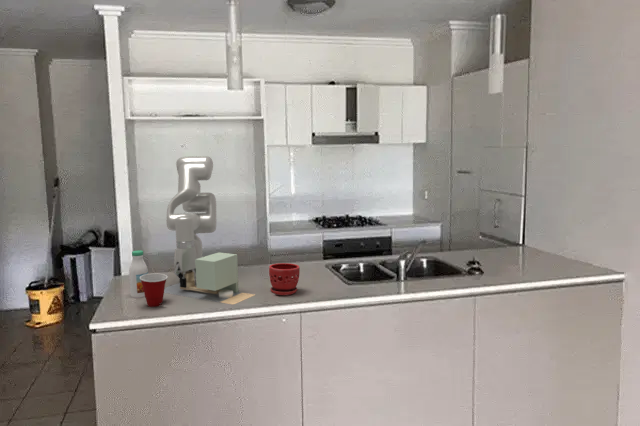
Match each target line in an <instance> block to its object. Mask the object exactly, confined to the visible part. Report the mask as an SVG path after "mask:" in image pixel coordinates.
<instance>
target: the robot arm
mask: <svg viewBox="0 0 640 426" xmlns="http://www.w3.org/2000/svg"><path fill="white" fill-rule="evenodd" d="M175 165H176V171H177V174H178V183H177V193H176V194H175V195H174V196H173V197H172V198H171V200H170V201H169V202H168V206H167V209H166V219H165V220H166V227H167V229H168V230H170V231H171V232H172V231H173V232H174V231H175V244H176V248H175V249H174V257H173V270H174V271H173V274H174V275H176V277H178V279H179V283H180V287H184V288H186V278H185V272H186V271H190V272H194V280H195V281H196V265H195V259H198V258H202V257H204V256H203V242H202V240H201V238H200V237H199V236H198V235H197V234H211V233H214V232H215V231H216V229H217V198H216V196H215V194H214V193H212V192H201V183H200V182H199V181H209V180H211V177H212V174H213V171H214V170H213V169H214V162H213V159H212V157H211V156H208V155H207V156H206V155H202V156H197V155H196V156H195V155H194V156H182V157H179V158H178V159H176V163H175ZM180 205H182V209H183V211H184V213H175V211H176V209H177V208H178V207H179V206H180ZM185 212H186V213H185ZM182 273H183V274H182Z"/></svg>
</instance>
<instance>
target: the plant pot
mask: <svg viewBox="0 0 640 426" xmlns="http://www.w3.org/2000/svg"><path fill="white" fill-rule="evenodd" d="M300 271H301V270H300V266H299V264H296V263H290V262H289V263H286V262H285V263H280V262H279V263H273V264H270V265H269V267H268V275H269V282H270V285H271V286H272V287H270V288H269V289H270V292H271V293H273V294H275V296H291V295H293V294H295V293H297V292H298V287H297V285H298V283H299V280H300Z"/></svg>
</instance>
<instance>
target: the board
mask: <svg viewBox="0 0 640 426" xmlns="http://www.w3.org/2000/svg"><path fill="white" fill-rule="evenodd" d="M195 286H196V284H195ZM240 293H242V292H241V291H239V292H238V293H234V292H233V296H236V295H238V294H240ZM164 294H168V295H169V294H170V295H175V296H180V297H181V296H182V297H187V298H193V299H198V300H205V301H210V302H216V303H221V301H224V300H226V299H229V298H219V294H213V293H206V292H200V291H193V290H184V289H180V282H178V283H175V284H172V285H168V286H165V289H164Z"/></svg>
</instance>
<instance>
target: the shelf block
mask: <svg viewBox="0 0 640 426" xmlns="http://www.w3.org/2000/svg"><path fill="white" fill-rule="evenodd" d="M238 264H239V263H238V254H236V253H235V254H234V253H229V252H227V253H226V252H215V253H211V254H208V255H206V256H203V257H202V258H198V259H195V265H196V280H195V281H196V284H195V285H196V286H197V288H201V289H208V290H214V291H216V290H232V291H233V292H234V293H238V292H240V291H239V289H240V288H239V269H238V266H239V265H238Z"/></svg>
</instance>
